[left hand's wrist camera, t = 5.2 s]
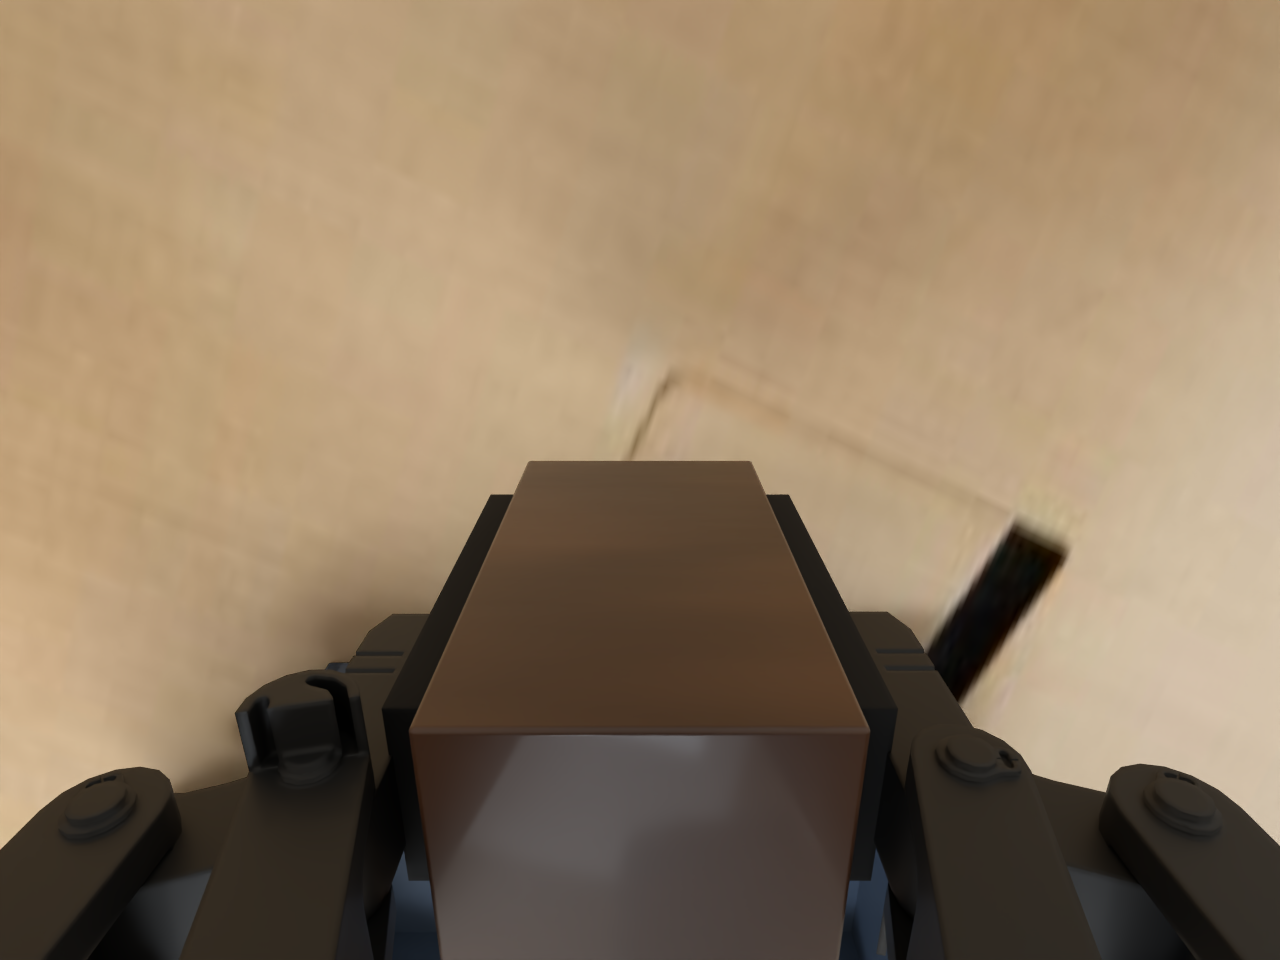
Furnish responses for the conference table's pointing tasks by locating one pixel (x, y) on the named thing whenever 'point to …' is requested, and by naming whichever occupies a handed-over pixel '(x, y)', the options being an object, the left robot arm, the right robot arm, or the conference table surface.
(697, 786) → the block
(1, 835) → the conference table surface
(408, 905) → the pan
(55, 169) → the conference table surface
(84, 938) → the left robot arm
